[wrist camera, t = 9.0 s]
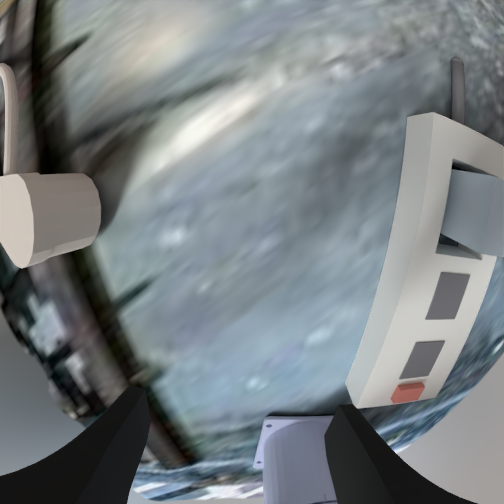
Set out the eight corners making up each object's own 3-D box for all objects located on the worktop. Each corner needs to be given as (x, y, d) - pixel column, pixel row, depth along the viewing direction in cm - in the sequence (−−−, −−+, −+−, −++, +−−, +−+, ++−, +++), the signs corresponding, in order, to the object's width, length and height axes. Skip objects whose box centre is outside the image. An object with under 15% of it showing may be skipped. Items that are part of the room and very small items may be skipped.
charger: (453, 231, 17) (509, 258, 11) (423, 225, 17) (480, 253, 11) (463, 176, 16) (523, 188, 10) (433, 166, 16) (495, 175, 10)
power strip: (421, 376, 21) (438, 401, 18) (345, 382, 21) (356, 414, 17) (488, 80, 13) (518, 75, 10) (408, 38, 13) (436, 20, 9)
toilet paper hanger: (-13, 65, 11) (81, 26, 8) (28, 71, 16) (144, 55, 12) (-31, 279, 17) (49, 382, 14) (4, 267, 22) (95, 351, 18)
